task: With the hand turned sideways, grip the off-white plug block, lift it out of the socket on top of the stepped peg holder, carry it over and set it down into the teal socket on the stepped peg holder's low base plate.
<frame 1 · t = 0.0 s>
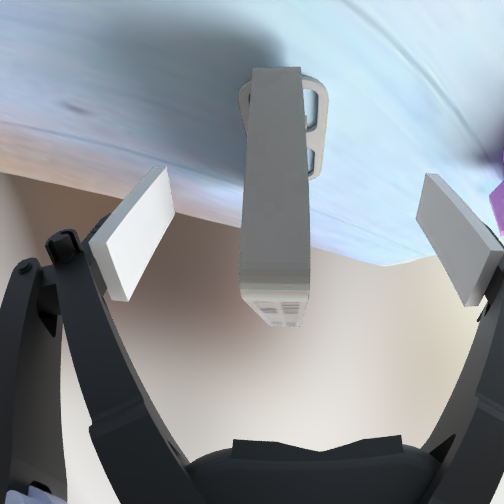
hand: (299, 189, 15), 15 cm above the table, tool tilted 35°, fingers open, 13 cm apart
network device: (286, 135, 34), on the table
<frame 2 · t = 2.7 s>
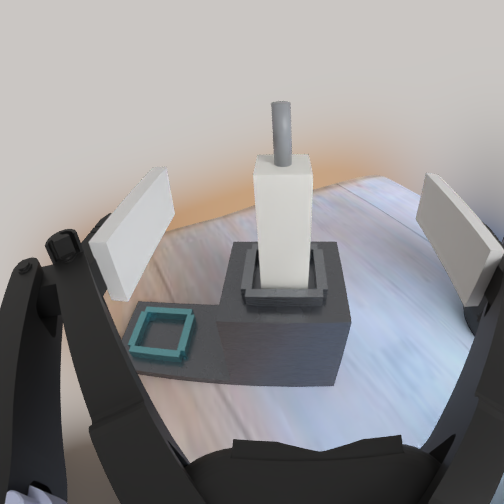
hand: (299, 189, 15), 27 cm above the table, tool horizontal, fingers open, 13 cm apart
plug: (284, 276, 31), point 12 cm above the table, touching stepped peg holder
stepped peg holder: (222, 343, 40), on the table
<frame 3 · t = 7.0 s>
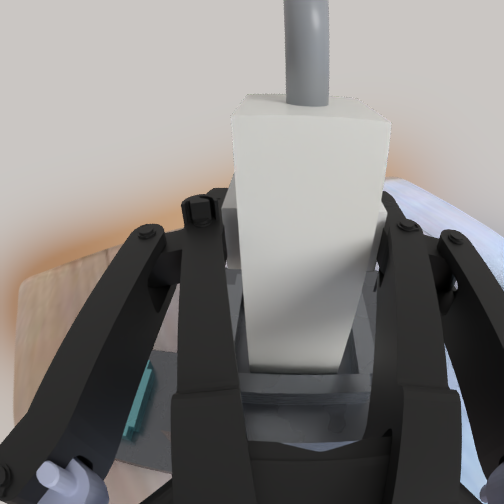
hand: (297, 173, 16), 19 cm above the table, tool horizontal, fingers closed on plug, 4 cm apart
plug: (293, 339, 16), point 12 cm above the table, touching gripper, stepped peg holder
stepped peg holder: (192, 414, 24), on the table
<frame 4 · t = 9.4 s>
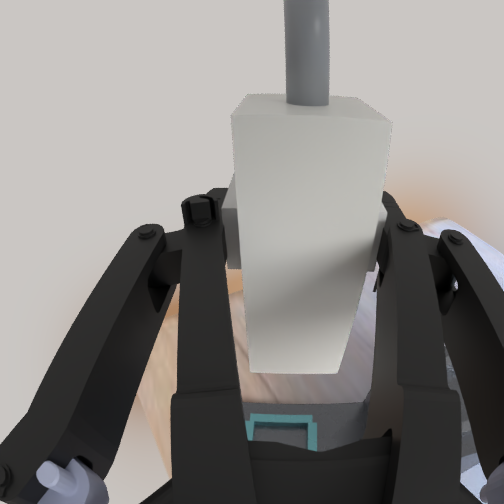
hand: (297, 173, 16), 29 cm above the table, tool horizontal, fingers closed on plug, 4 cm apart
plug: (294, 339, 16), point 22 cm above the table, touching gripper
stepped peg holder: (348, 450, 29), on the table
when the fingers open (10 cm above the table, at t = 12.0 s): plug drops 2 cm, resting on stepped peg holder.
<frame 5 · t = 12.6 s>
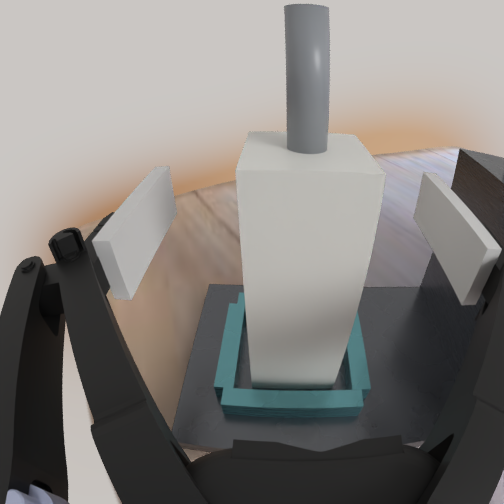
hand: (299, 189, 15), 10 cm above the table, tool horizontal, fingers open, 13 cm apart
plug: (292, 356, 17), point 1 cm above the table, touching stepped peg holder
stepped peg holder: (412, 360, 17), on the table
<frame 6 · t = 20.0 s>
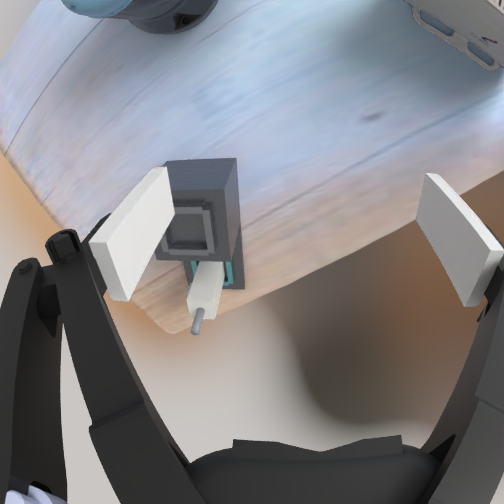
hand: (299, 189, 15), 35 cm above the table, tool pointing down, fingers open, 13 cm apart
plug: (213, 266, 62), point 1 cm above the table, touching stepped peg holder
network device: (461, 27, 31), on the table
stepped peg holder: (209, 229, 59), on the table
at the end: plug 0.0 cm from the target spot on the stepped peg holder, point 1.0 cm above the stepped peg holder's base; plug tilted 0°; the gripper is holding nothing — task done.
